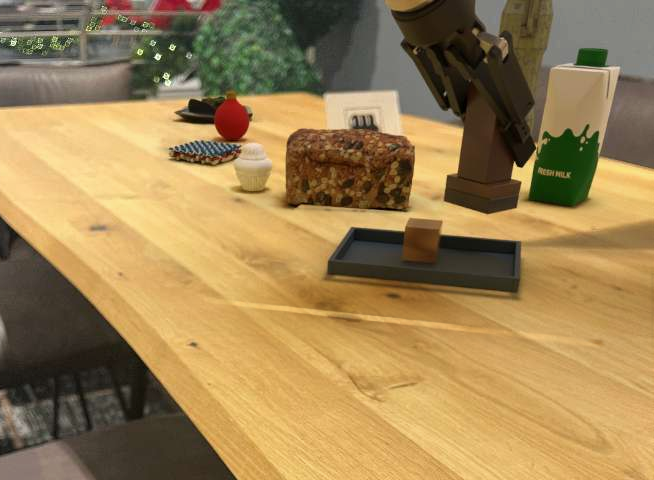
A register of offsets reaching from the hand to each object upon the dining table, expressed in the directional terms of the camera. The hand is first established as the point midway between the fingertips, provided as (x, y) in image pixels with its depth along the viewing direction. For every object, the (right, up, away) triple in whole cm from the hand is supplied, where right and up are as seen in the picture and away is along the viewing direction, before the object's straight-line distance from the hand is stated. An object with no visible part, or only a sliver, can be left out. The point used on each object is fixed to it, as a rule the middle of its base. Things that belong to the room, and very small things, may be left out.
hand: (509, 153), depth 89 cm
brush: (-3, -6, +1) cm, 6 cm away
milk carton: (+17, +6, +30) cm, 35 cm away
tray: (-9, -13, +3) cm, 16 cm away
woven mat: (-40, +23, +53) cm, 70 cm away
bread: (-16, +5, +28) cm, 33 cm away
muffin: (-31, +9, +34) cm, 47 cm away
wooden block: (-10, -11, +4) cm, 15 cm away
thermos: (+16, +26, +58) cm, 66 cm away
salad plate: (-42, +48, +88) cm, 109 cm away
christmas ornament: (-36, +33, +67) cm, 83 cm away
